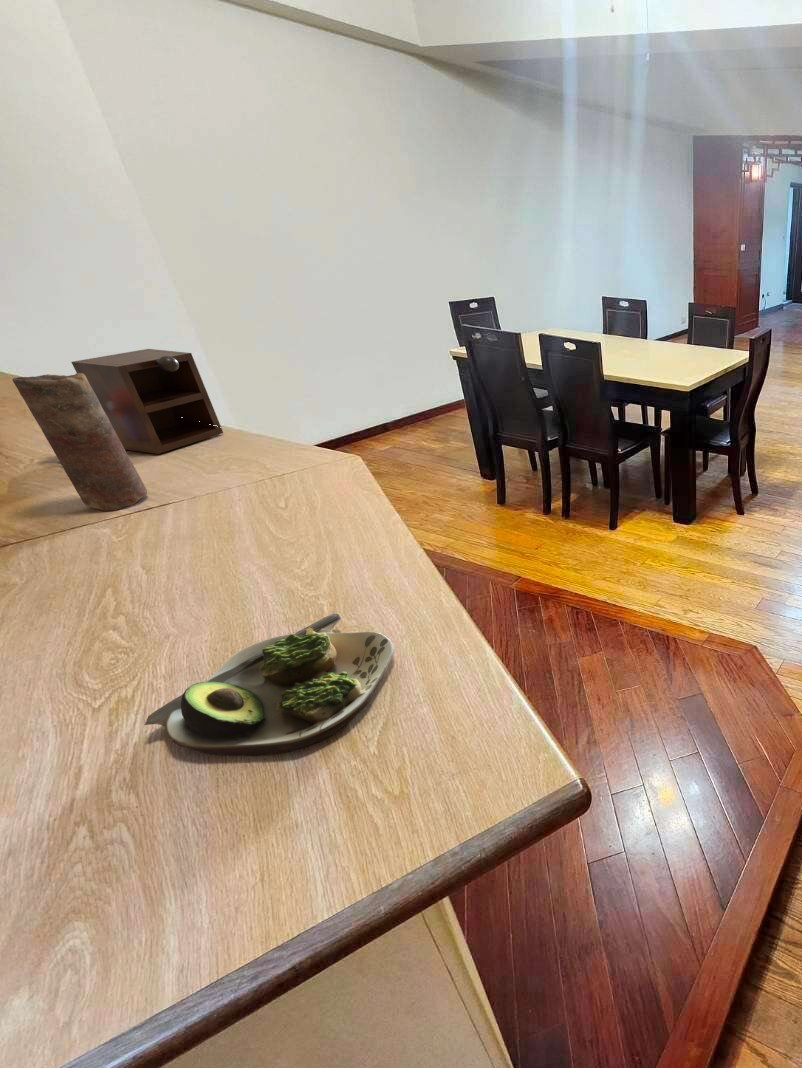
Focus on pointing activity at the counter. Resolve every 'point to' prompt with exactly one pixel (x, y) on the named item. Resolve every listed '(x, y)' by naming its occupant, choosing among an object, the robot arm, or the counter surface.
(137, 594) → the counter surface
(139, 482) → the brown textured cylinder
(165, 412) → the shelf
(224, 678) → the salad plate
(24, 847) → the counter surface
